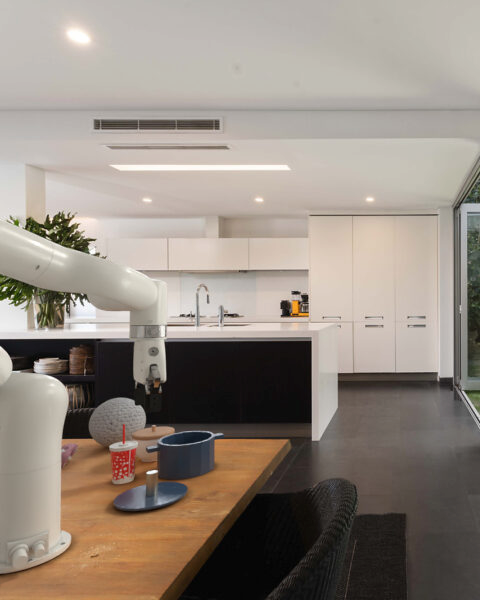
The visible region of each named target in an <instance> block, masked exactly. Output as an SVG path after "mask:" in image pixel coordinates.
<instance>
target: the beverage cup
mask: <svg viewBox="0 0 480 600" xmlns="http://www.w3.org/2000/svg"><path fill="white" fill-rule="evenodd" d="M137 444H138V442H136V441H125V424H123V442H118V443H115V444H112V445H110V446H109V447H108V448H109V451H110V464H111V480H112V484H114V485H123V484H128V483H131V482H132V481H134V480H135V473H136V472H135V471H136V459H137V458H136V457H137V456H136V447H137V446H138V445H137Z"/></svg>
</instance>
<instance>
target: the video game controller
mask: <svg viewBox="0 0 480 600" xmlns="http://www.w3.org/2000/svg"><path fill="white" fill-rule="evenodd" d="M78 448H79V445H78V444H76V443H71V442H69V443H67V444H64V445H62V447H61V469H64V467H65V465H67V464H68V463H70V462H71V461H72V457H73V456H74V455H75V454H76V452H77V450H78Z"/></svg>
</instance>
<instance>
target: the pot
mask: <svg viewBox="0 0 480 600" xmlns="http://www.w3.org/2000/svg"><path fill="white" fill-rule="evenodd" d="M222 439H225V434H224V433H222V432H218V433H213V432H212V431H207V430H189V431H181V432H175V433H174V434H171V435H167V436H164V437H162V438H160V439H159V440H158V442H157V445H155V446H149V447H146V452H148V453H152V452H157V461H156V470H157V471H158V478H161V479H164V480H174V481H175V480H186V479H187V480H188V479H192V478H196V477H197V478H198V477H200V476H203V475H206V474H207V473H210V472H212V471H213V470H214V468H215V464H216V463H215V462H216V461H215V459H216V458H215V457H216V455H215V454H216V453H215V452H216V451H215V449H216V448H215V447H216V446H215V445H216V443H215V442H216V440H217V441H218V440H222Z"/></svg>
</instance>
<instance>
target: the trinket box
mask: <svg viewBox="0 0 480 600" xmlns="http://www.w3.org/2000/svg"><path fill="white" fill-rule="evenodd" d="M174 433H176V431H175V428H174V427H171V426H157V425H155V424H153V425H151V427H144V429H141V430H138V431H136V432H134V433H133V434H132V441H136V442H138V444H137V445H138V446H137V447H136V457H137V458H138V459H140V461H141V462H142V463H143V462H144V463H154V462H157V452H152V453H148V452H146V447H149V446H155V445H157V442H158V440H159V439H160V438H162V437H164V436H167V435H171V434H174Z"/></svg>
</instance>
